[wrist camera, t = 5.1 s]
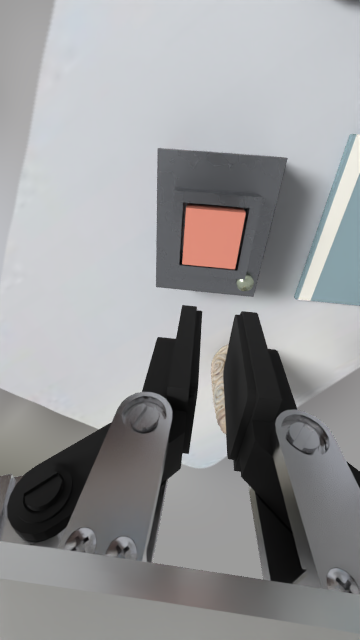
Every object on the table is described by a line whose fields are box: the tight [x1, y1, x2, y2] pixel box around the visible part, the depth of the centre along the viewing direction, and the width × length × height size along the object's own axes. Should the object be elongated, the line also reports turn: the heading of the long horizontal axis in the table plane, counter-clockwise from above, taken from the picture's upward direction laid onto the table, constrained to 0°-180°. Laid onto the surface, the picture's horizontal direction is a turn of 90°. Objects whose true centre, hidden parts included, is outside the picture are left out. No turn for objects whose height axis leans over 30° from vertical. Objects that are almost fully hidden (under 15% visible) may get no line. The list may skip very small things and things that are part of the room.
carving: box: [211, 345, 229, 434], centre depth 32 cm, size 6×8×12 cm
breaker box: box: [156, 148, 287, 297], centre depth 25 cm, size 12×10×7 cm
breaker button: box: [182, 204, 246, 269], centre depth 22 cm, size 5×5×2 cm
